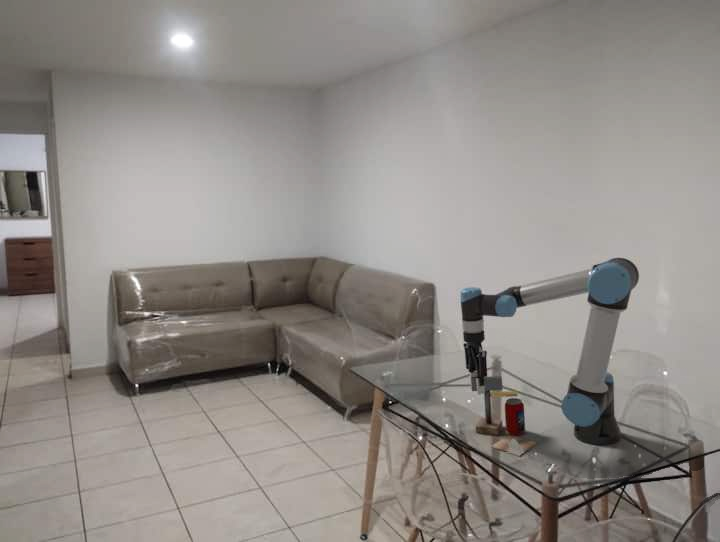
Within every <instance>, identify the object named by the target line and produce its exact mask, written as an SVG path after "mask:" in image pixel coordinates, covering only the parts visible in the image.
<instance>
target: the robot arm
mask: <svg viewBox="0 0 720 542" xmlns="http://www.w3.org/2000/svg"><path fill="white" fill-rule="evenodd" d="M639 280H640V272H639V269H638V267H637V265H635V264H634V262H633V261H631V260H629V259H628V258H625V257H614V258H611V259H609V260H606V261H604V262H601V263H597V264H593V265H592V266H591V268H589V269H585V270H580V271H577V272H573V273H568V274H564V275H560V276H555V277H551V278H547V279H543V280H539V281H536V282H535V281H534V282H529V283H526V284H522V285H518V286H517V285H516V286H514V285H513V286H509V287H508V288H507V289H504V290H503V291H500V292H499V293H496V294H485V293H482V289H481V288H480V287H474V286H473V287H471V286H470V287H465V288H463V289H461V291H460V306H461V322H462V330H463V332H462V334H463V335H462V337H463V342H465V343H463V345H462V346H463V348H464V359H465V368H466V370H468V373H469V380H470V385H471V377H476V382H477V391H476V394H477V395H484V393H485V386H484V377H488V366H487V363H488V362H487V354H488V352H487V350H484V349H483V345H482V343H483V342H484V341H485V339H486V338H485V331H484V328H485V327H484V326H485V325H484V324H485V323H484V321H485V320H484V316H485V317H486V316H488V317H497V318H512V317H514V316H515V314H516V312H517V309H518V308H524V307H527V306H530V305H536V304H541V303H545V302H550V301H555V300H560V299H563V298H569V297H574V296H578V295H584V294H588V295H587V299H586V301H587V303H588V304H589V306H590V310H589V311H590V312H589V315H588V320H587V324H586V329H585V334H584V338H583V342H582V347H581V352H580V357H579V362H578V366H577V370H576V374H575V375H573V376H571V377H570V379H569V383H568V387H567V393H566V394H565V396H564V397H563V399H562V401H561V411H562V414H563V415H564V416H565V418H566V419H567V420H568V422H570V423H572V424H573V425H574V426H573V435H574V437H575V438H576V439H577V440H579V441H581V442H582V443H586V444H592V445H596V446H597V445H599V446H601V445H602V446H603V445H604V446H605V445H612V444H614V443H617V442H619V441H620V440H621V438H622V436H621V429H620V426H619V422H618V421H617V418H616V414H615V380H614V376H613V375H612V374H611V373H610V372H608V367H609V364H610V358H611V355H612V350H613V346H614V341H615V338H616V337H615V336H616V333H617V328H618V326H619V325H618V324H619V321H620V320H619V319H620V316H621V313H622V312H624V311H626V310H627V309H628V305H629V301H630V296H631V293H632V291H633V289H634V288H636V286H637V284H638V283H639ZM470 390H471V391H472V388H471V387H470Z"/></svg>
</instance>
